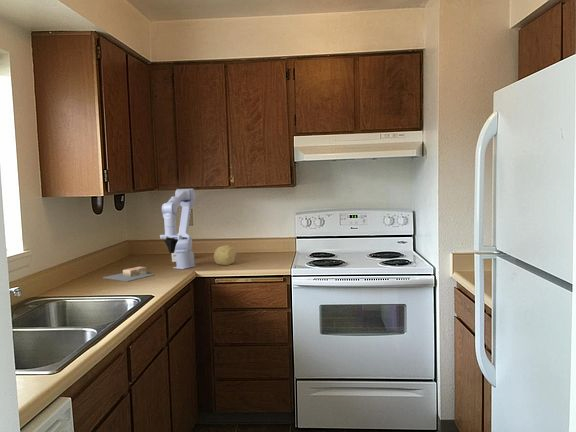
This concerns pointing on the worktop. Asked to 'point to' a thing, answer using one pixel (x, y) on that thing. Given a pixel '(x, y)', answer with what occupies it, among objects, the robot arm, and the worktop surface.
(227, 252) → the beige lumpy ball
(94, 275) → the worktop surface
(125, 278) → the mat
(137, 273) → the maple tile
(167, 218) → the robot arm
